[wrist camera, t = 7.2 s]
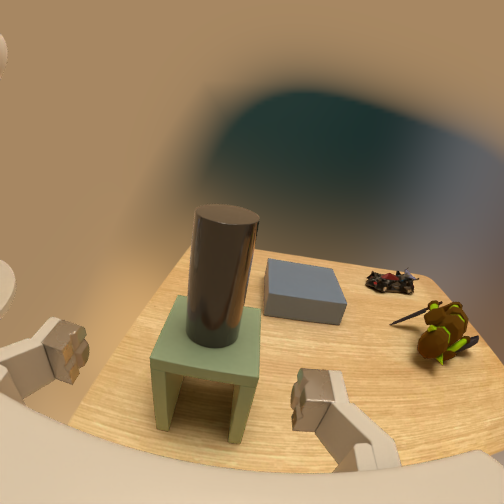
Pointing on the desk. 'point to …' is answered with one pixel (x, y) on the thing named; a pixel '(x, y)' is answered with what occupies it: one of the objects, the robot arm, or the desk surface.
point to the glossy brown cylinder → (219, 273)
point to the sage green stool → (205, 366)
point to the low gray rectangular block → (302, 293)
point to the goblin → (443, 331)
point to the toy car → (392, 282)
